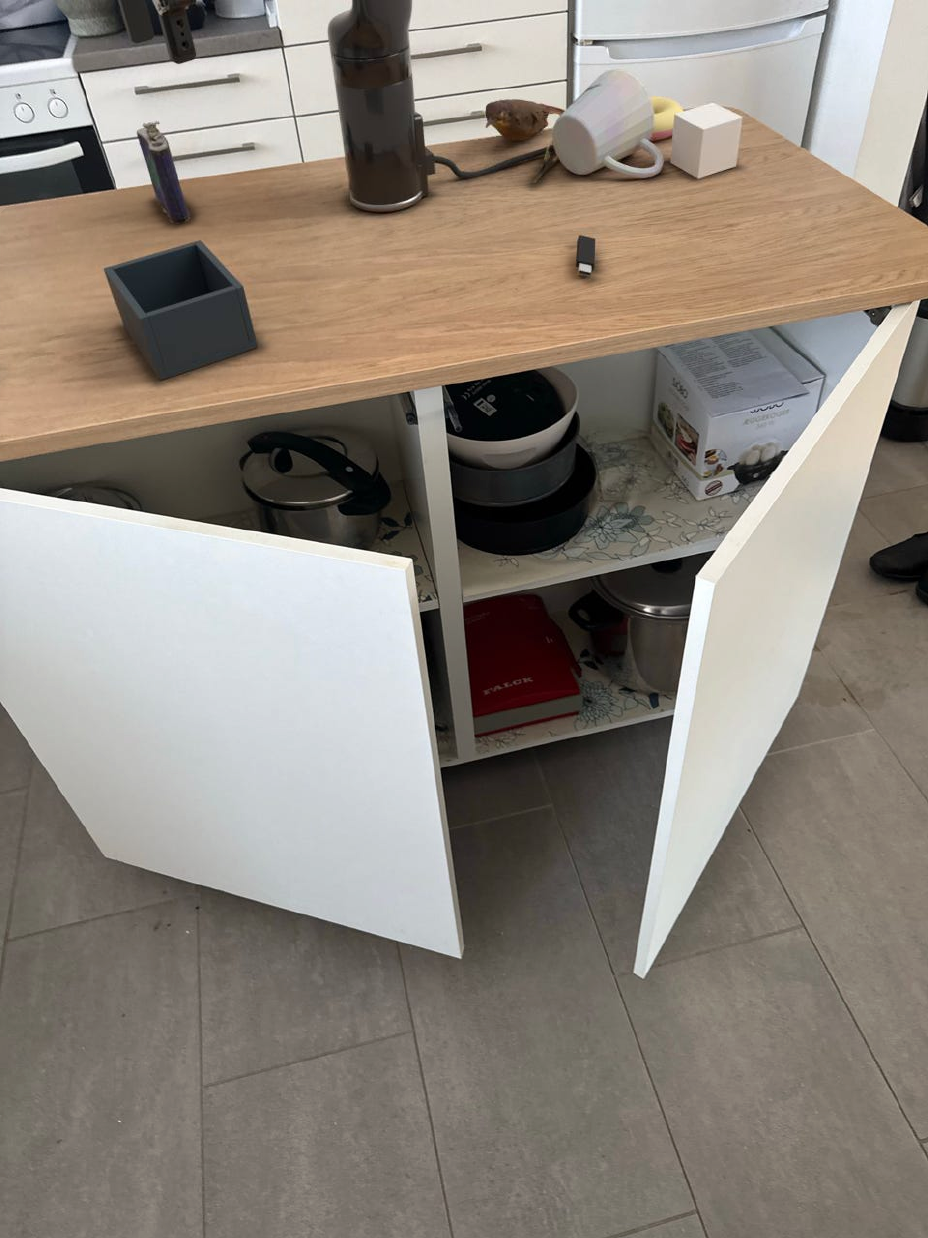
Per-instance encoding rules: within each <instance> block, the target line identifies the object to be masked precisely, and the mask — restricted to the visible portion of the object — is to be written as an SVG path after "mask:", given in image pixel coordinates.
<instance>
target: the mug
mask: <svg viewBox="0 0 928 1238" xmlns="http://www.w3.org/2000/svg"><path fill="white" fill-rule="evenodd" d="M650 97H651V96H650V95H649V93H648V90H647V89H646V88H645V86H644V85H643V83H642V82H641V81H640V80H639V79H638V78H637V77H636V76H635V75H633V74H631V73H630V72H629V71H628V70H623V69H619V68H614V69H609V70H605V71H604V72H603V73H602V74H600V75H599V76H598V77H597V78H596V79H595V80H594V81H593V82H592V83H591V84H590V85H589V86H588V87H587V88H586V89H585V90H584V91H583V92H582V93H581V94H580V95H579V96H578V97H577V98H576V99H575V100H574V101H573V102H572V103H571V104H570V105H568V107H567V108H566V109H564V110H565V112H564V113H563V114H562V115H561V116H558V117H557V118H556V120H555V122H554V125H553V126H552V131H551V141H553V146H554V149H555V151H554V152H555V155H556V156H558V158H559V159H558V160H559V162H560V163H561V164H562V165H563V167H564V168H565V169H567V170H568V171H569V172H571V173H572V174H575V175H579V176H585V175H589V174H592V173H594V172H596V171H597V170H600V169H602V168H604V167H606V168H608V169H610V170H611V171H613V172H615V173H618V174H620V175H623V176H626V177H630V178H634V179H635V178H636V179H648V178H652V177H654V176H656V175H658V174H660V173H661V171H662V169H663V166H664V165H665V163H664V162H665V161H664V156H663V153H662V152H661V150H660V149H659V148H658V147H657V146H656V144H654V143H653V142H652V141H649V140H650V138H651V137H652V133H653V129H654V110H653V106H652V102H651V99H650ZM640 150H644V151H646V152H647V153H648V154H649V155H650V156H651V157H652V159H653V160H654V163H653V164H654V165H653V166H650V167H645V168H642V167H641V168H639V167H635V166H629V165H626V164H624V163H621V162H619V160H622V159H624V158H627V157H628V156H630V155H633V154H634V153H637V152H638V151H640Z"/></svg>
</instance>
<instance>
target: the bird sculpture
mask: <svg viewBox="0 0 928 1238" xmlns="http://www.w3.org/2000/svg"><path fill="white" fill-rule="evenodd" d="M565 110H566V109H562V108H559V107H556V106H552V105H549V104H548V105H547V104H544V103H543V102H542V103H538V102H535V101H531V100H525V99H520V98H519V99H518V98H517V99H515V98H512V99H498V100H495V101H491V102H489V103H487V104H486V106H485V111H484V114H485V118H486V124H485V129H488V128H489V127H490V126H492V127H493V128H494V129H495V130H496V131H497V132H498V133H499V135H501V136H502V137H504V138H506V139H509V140H511V141H514V142H519V141H520V142H521V141H525V140H528V139H531V138H534V137H536V136H537V135H538V134H539V133H540V132H543V130H544V129H546V128H547V127H548V126H549V121H548V118H549V116H550V115H558V117H560V116H561V115H562V114H563V113H564V112H565Z"/></svg>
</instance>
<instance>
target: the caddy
mask: <svg viewBox="0 0 928 1238" xmlns="http://www.w3.org/2000/svg"><path fill="white" fill-rule="evenodd" d="M103 272H104V274H105V277H106V281H107V283H108V286H109V288H110V292H111V294H112V297H113V300H114V302H115V306H116V309H117V311H118V313H119V317H120V320H121V323H122V326H123V328H124V329H125V331H126V332H127V334H128V335H129V337H130V338H131V340H132V341H133V343H134V344H135V346H136V347H137V348H138V350H139V351H140V353H141V355H142V357H144V359H145V360H146V362H147V364H148V365H149V367H150V368H151V369H152V371H153V372H154V373H155V375H156V376H157V378H158V379H159V381H164V380H167V379H170V378H173V377H175V376H178V375H182V374H184V373H187V372H191V371H193V370H196V369H199V368H202V367H205V366H208V365H211V364H214V363H216V362H220V361H223V360H226V359H229V358H232V357H234V356H237V355H242V354H243V353H246V352H250V351H252V350H256V349H258V348H259V345H258V341H257V337H256V334H255V329H254V325H253V320H252V316H251V313H250V308H249V304H248V300H247V295H246V292H245V288H244V285H243V284H241V282H240V281H239V280H238V279H237V277H235V276H234V275H233V274H232V272H231V271H229V269H228V268H227V267H226V266H225V265H224V263H222V261H220V260H219V258H218V257H217V256H216V255H215V254H214V253H213V252H212V251H211V250H210V249H209V248H208V246H206V244H205V243H204V242H203V241H202V240H201V239H198V240H196V241H191V242H188V243H185V244H182V245H179V246H175V247H172V248H168V249H165V250H161V251H158V252H155V253H152V254H148V255H145V256H141V257H137V258H134V259H131V260H128V261H124V262H120V263H118V264H114V265H111V266H107V267H104V268H103Z"/></svg>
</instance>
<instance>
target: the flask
mask: <svg viewBox="0 0 928 1238" xmlns="http://www.w3.org/2000/svg"><path fill="white" fill-rule="evenodd" d="M157 125H160V121H158V120H155V121H154V122H148V123H145V122H144V123H143V124H142V128H139V129H138V130H136V136H137V139H138V141H139V146H140V149H141V152H142V155H143V158H144V161H145V164H146V169H147V172H148V175H149V178H150V182H151V185H152V189H153V192H154V197H155V200H156V201H157V204H158V206H160V207H161V208H162V212H163V213H165V214H167V215H166V216H167V217H169V221H170V223H172V224H177V225H181V224H184V223H187V222H188V221H190V219H191V216H190V212H189V210H188V207H187V205H186V202H185V198H184V194H183V190H182V187H181V183H180V180H179V177H178V173H177V169H176V166H175V162H174V158H173V154H172V151H171V147H170V143H169V140H168V139H167V138H166V136H165V135H164V134H163V133H161V132H160V130H159V128H157Z"/></svg>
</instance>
